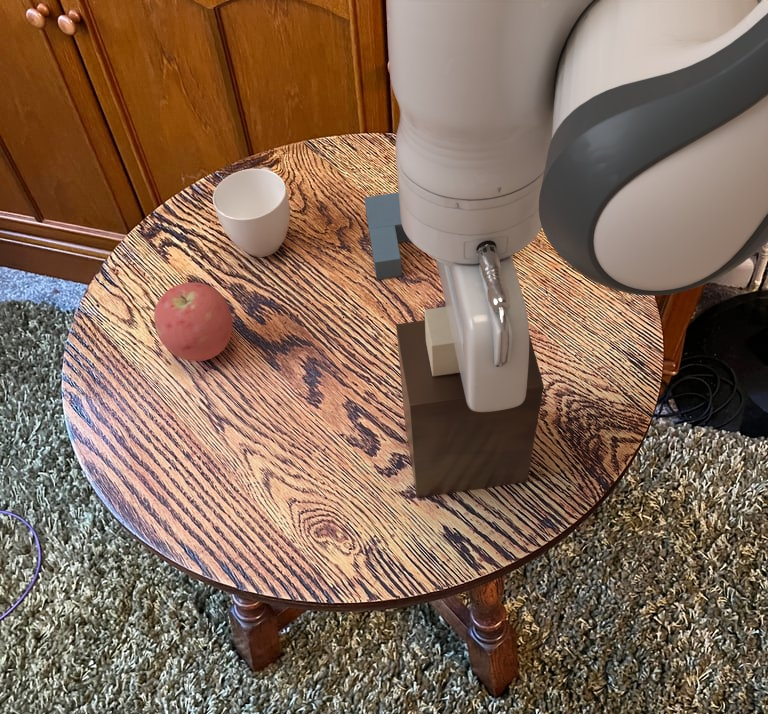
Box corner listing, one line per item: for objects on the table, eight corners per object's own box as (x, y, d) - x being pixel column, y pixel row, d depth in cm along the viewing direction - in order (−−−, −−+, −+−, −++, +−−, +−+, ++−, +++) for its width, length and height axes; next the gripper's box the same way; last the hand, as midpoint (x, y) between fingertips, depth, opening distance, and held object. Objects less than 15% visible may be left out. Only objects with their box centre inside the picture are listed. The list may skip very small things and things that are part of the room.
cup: (219, 265, 85) (202, 216, 79) (246, 202, 89) (231, 151, 83) (287, 272, 83) (274, 222, 78) (310, 208, 88) (300, 156, 82)
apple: (241, 372, 77) (220, 317, 70) (168, 381, 78) (140, 327, 71) (240, 316, 81) (221, 259, 74) (171, 325, 81) (145, 268, 74)
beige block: (502, 330, 59) (505, 297, 56) (511, 365, 58) (515, 333, 55) (425, 341, 59) (424, 309, 56) (432, 376, 58) (431, 346, 55)
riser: (509, 410, 73) (521, 305, 60) (527, 482, 69) (544, 386, 57) (405, 425, 73) (395, 323, 61) (416, 498, 69) (409, 405, 57)
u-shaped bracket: (480, 198, 87) (481, 180, 84) (497, 262, 82) (498, 244, 80) (366, 215, 87) (364, 197, 84) (376, 280, 82) (374, 262, 80)
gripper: (567, 313, 40) (540, 454, 53) (493, 79, 50) (485, 243, 62) (448, 331, 41) (449, 467, 53) (398, 93, 50) (408, 255, 62)
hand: (468, 344), depth 58 cm, fingers closed on beige block, 3 cm apart
